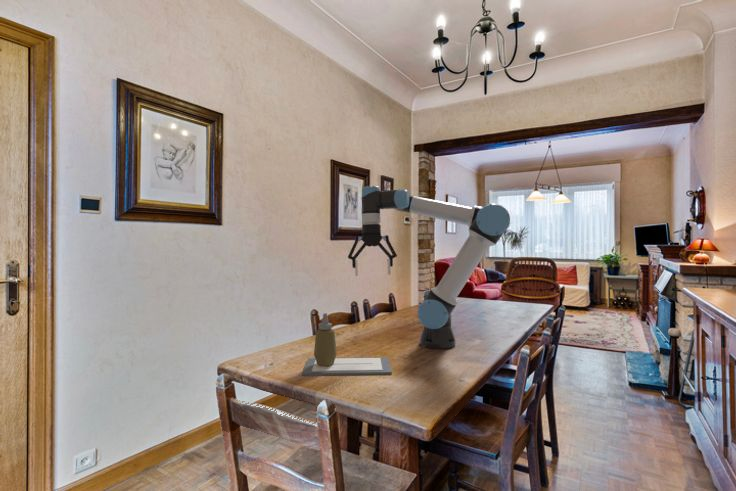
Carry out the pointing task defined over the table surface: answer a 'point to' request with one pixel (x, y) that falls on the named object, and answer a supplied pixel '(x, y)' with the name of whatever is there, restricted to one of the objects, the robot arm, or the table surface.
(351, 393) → the table surface
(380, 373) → the writing board
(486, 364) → the table surface
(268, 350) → the table surface
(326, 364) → the squeeze bottle
